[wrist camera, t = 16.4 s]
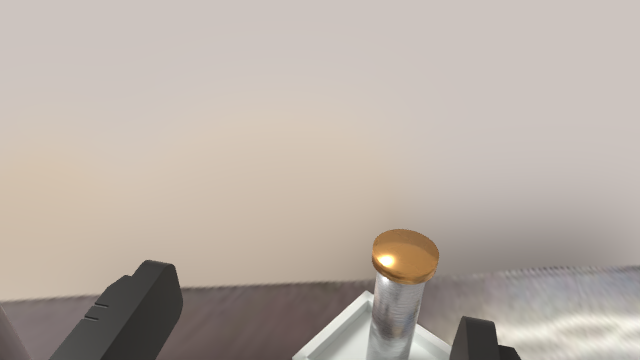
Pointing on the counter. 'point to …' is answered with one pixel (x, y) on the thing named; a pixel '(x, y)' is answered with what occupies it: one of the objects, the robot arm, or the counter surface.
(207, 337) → the counter surface
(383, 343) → the pin
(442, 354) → the tray
